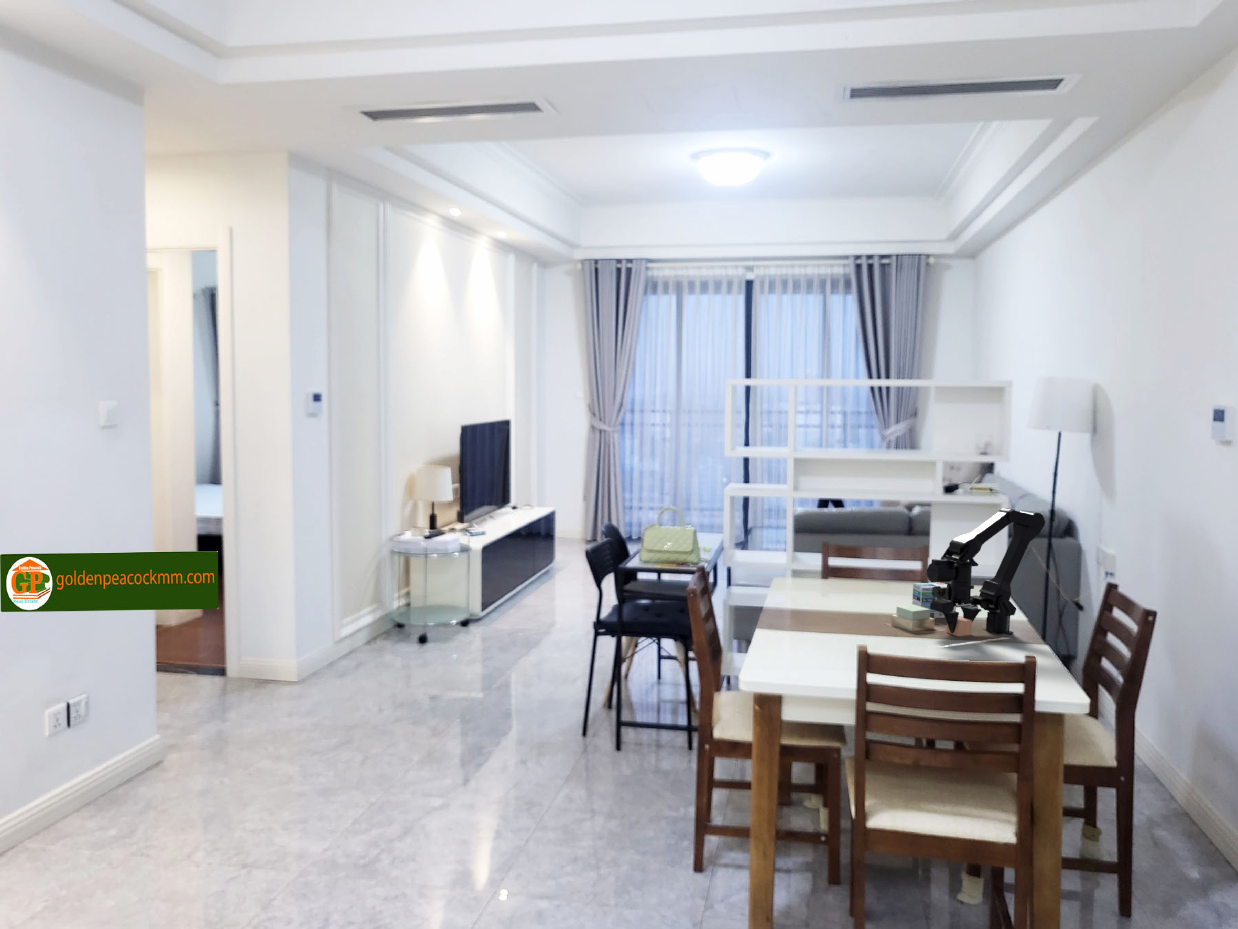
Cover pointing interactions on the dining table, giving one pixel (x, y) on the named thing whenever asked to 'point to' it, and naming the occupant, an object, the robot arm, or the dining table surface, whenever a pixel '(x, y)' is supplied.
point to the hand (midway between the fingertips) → (958, 632)
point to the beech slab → (912, 623)
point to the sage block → (913, 612)
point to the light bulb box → (926, 597)
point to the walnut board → (937, 628)
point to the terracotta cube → (961, 627)
